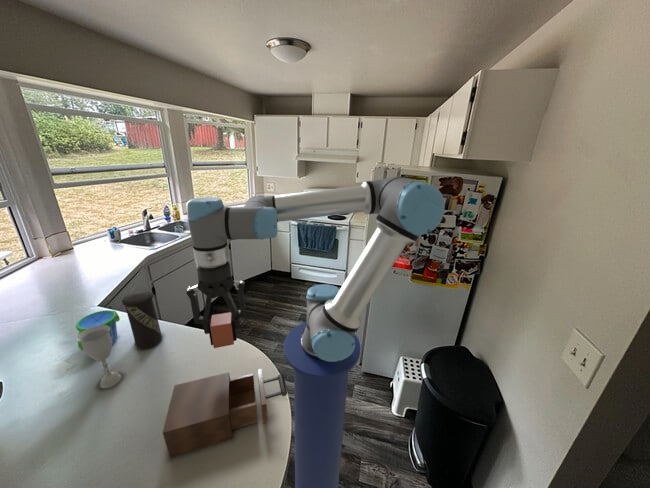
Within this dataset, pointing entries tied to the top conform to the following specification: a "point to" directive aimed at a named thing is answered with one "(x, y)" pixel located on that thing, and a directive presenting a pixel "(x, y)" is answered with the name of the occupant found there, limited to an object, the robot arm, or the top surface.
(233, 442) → the top surface
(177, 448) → the cabinet
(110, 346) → the chalice
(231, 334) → the block
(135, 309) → the container
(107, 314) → the snack cup
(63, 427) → the top surface
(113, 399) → the top surface
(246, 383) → the drawer
